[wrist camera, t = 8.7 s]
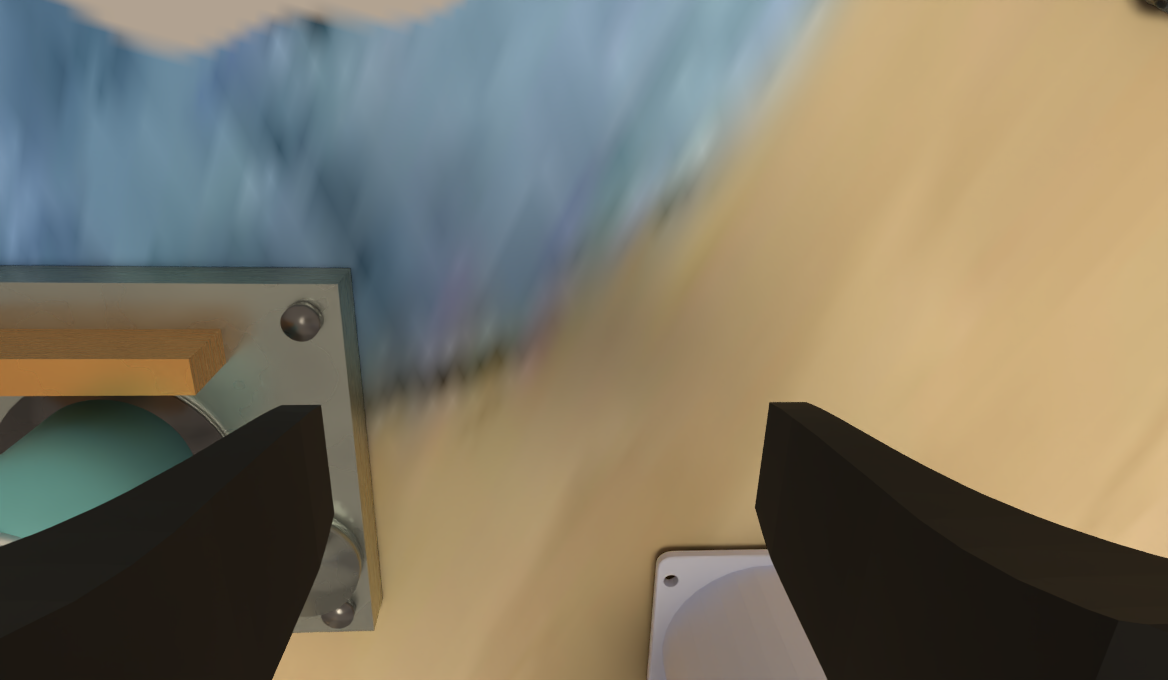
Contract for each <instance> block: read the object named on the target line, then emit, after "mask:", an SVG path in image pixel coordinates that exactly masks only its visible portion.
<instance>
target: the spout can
mask: <svg viewBox="0 0 1168 680" xmlns="http://www.w3.org/2000/svg"><path fill="white" fill-rule="evenodd" d="M191 456H193V454H192V452H191V450H190V448H189V447H188V445H187V443H186V442H185V441H184V439H183V438H182V437H181V436H180V434H179V433H178V432H177V431H176V430H175V429H174V428H173V427H171V426H170V425H169V424H168V423H166V422H165V421H164V420H163V419H161V418H159V417H158V416H156V415H155V414H153V413H151V412H149V411H147V410H145V409H143V408H140V407H137V406H135V405H132V404H128V403H124V402H120V401H113V400H99V399H98V400H86V401H81V402H76V403H73V404H70V405H67V406H65V407H63V408H61V409H59V410H57V411H56V412H55V413H53V414H52V415H50V416H49V417H48V418H47V419H45V420H44V421H43V422H42V423H40V424H39V425H38V426H36V427H35V428H34V429H33V430H31V431H30V432H29V433H28V434H26V435H25V436H24V437H23V438H21V439H20V440H19V441H17V442H16V443H15V444H14V445H12V446H11V447H10V448H9V449H7V450H6V451H5V452H3V453H2V454H1V455H0V546H3V545H6V544H8V543H11V542H14V541H16V540H19V539H22V538H24V537H27V536H30V535H32V534H35V533H38V532H40V531H42V530H45V529H47V528H50V527H52V526H54V525H57V524H59V523H61V522H63V521H66V520H68V519H70V518H72V517H75V516H77V515H79V514H81V513H84V512H86V511H88V510H91V509H93V508H95V507H97V506H99V505H101V504H103V503H105V502H107V501H109V500H111V499H113V498H115V497H117V496H119V495H121V494H123V493H125V492H127V491H129V490H131V489H133V488H135V487H137V486H138V485H140V484H142V483H144V482H146V481H148V480H149V479H151V478H153V477H155V476H157V475H159V474H161V473H162V472H164V471H166V470H168V469H170V468H172V467H173V466H175V465H177V464H179V463H181V462H183V461H184V460H186V459H188V458H190V457H191Z"/></svg>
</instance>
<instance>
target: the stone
mask: <svg viewBox="0 0 1168 680" xmlns="http://www.w3.org/2000/svg"><path fill="white" fill-rule="evenodd" d="M1145 1H1146V2H1147V3H1148V4H1152V5H1155V6H1156V7H1157V8H1158V9H1160V10H1161V11H1164V12H1165V13H1167V14H1168V0H1145Z"/></svg>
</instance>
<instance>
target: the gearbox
mask: <svg viewBox="0 0 1168 680" xmlns="http://www.w3.org/2000/svg"><path fill="white" fill-rule="evenodd" d="M98 399H99V400H113V401H120V402H124V403H128V404H132V405H135V406H137V407H140V408H143V409H145V410H147V411H149V412H151V413H153V414H155V415H156V416H158V417H159V418H161V419H163V420H164V421H165V422H166V423H168V424H169V425H170V426H171V427H173V428H174V429H175V430H176V431H177V432H178V433H179V434H180V436H181V437H182V438H183V439H184V441H185V442H186V443H187V445H188V447H189V448H190V450H191V452H192V454H193V455H195V454H196V453H198V452H200V451H201V450H203V449H205V448H206V447H208V446H210V445H211V444H213V443H215V442H216V441H218V440H220V439H221V438H223V437H225V436H227V435H228V434H230V433H232V432H233V431H235V430H237V429H238V428H240V427H241V426H243V425H245V424H247V423H248V422H250V421H252V420H253V419H255V418H257V417H259V416H260V415H262V414H264V413H266V412H268V411H270V410H272V409H274V408H276V407H278V406H280V405H321V408H322V416H323V424H324V432H325V440H326V448H327V457H328V465H329V473H330V481H331V489H332V498H333V506H334V518H333V522H332V526H331V529H330V533H329V537H328V541H327V545H326V549H325V552H324V556H323V559H322V563H321V566H320V569H319V572H318V574H317V576H316V579H315V581H314V584H313V586H312V588H311V591H310V593H309V595H308V598H307V600H306V602H305V605H304V607H303V610H302V612H301V614H300V616H299V619H298V621H297V623H296V626H295V628H294V630H293V633H301V632H339V631H374V629H375V625H376V622H377V618H378V614H379V610H380V607H381V603H382V599H383V597H382V586H381V576H380V566H379V556H378V545H377V535H376V525H375V515H374V504H373V494H372V484H371V474H370V463H369V453H368V443H367V433H366V422H365V412H364V402H363V392H362V381H361V371H360V361H359V350H358V340H357V330H356V320H355V309H354V299H353V289H352V279H351V268H268V267H134V266H0V455H1V454H2V453H3V452H5V451H6V450H7V449H9V448H10V447H11V446H12V445H14V444H15V443H16V442H17V441H19V440H20V439H21V438H23V437H24V436H25V435H26V434H28V433H29V432H30V431H31V430H33V429H34V428H35V427H36V426H38V425H39V424H40V423H42V422H43V421H44V420H45V419H47V418H48V417H49V416H50V415H52V414H53V413H55V412H56V411H57V410H59V409H61V408H63V407H65V406H67V405H70V404H73V403H76V402H81V401H86V400H98Z"/></svg>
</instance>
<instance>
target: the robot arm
mask: <svg viewBox="0 0 1168 680" xmlns="http://www.w3.org/2000/svg"><path fill="white" fill-rule="evenodd" d="M755 509H756V512H757V516H758V519H759V523H760V526H761V530H762V533H763V537H764V540H765V543H766V546H767V549H749V550H697V551H669V552H665V553H663V554H661V555H660V556H659V557H658V559H657V562H656V570H655V582H654V595H653V608H652V620H651V633H650V645H649V658H648V670H647V680H1168V558H1164V557H1160V556H1157V555H1153V554H1149V553H1146V552H1143V551H1139V550H1136V549H1132V548H1129V547H1126V546H1122V545H1119V544H1116V543H1112V542H1109V541H1106V540H1103V539H1100V538H1097V537H1094V536H1091V535H1088V534H1085V533H1082V532H1079V531H1076V530H1073V529H1070V528H1067V527H1064V526H1061V525H1059V524H1056V523H1053V522H1050V521H1048V520H1045V519H1042V518H1040V517H1037V516H1034V515H1032V514H1029V513H1027V512H1024V511H1022V510H1020V509H1017V508H1015V507H1012V506H1010V505H1008V504H1005V503H1003V502H1000V501H998V500H995V499H993V498H991V497H988V496H986V495H984V494H981V493H979V492H977V491H975V490H973V489H970V488H968V487H966V486H964V485H962V484H960V483H958V482H956V481H954V480H952V479H950V478H948V477H946V476H944V475H942V474H940V473H938V472H936V471H934V470H932V469H930V468H928V467H926V466H924V465H922V464H920V463H918V462H916V461H915V460H913V459H911V458H909V457H907V456H905V455H903V454H902V453H900V452H898V451H896V450H894V449H893V448H891V447H889V446H887V445H885V444H884V443H882V442H880V441H878V440H877V439H875V438H873V437H871V436H870V435H868V434H866V433H864V432H863V431H861V430H859V429H857V428H855V427H854V426H852V425H850V424H848V423H847V422H845V421H843V420H841V419H840V418H838V417H836V416H834V415H832V414H830V413H828V412H827V411H825V410H823V409H821V408H818V407H816V406H814V405H812V404H809V403H807V402H770V403H769V410H768V418H767V425H766V432H765V439H764V447H763V454H762V461H761V468H760V476H759V483H758V490H757V497H756V504H755ZM333 518H334V506H333V498H332V489H331V481H330V473H329V465H328V457H327V448H326V440H325V432H324V424H323V416H322V408H321V405H280V406H278V407H276V408H274V409H272V410H270V411H268V412H266V413H264V414H262V415H260V416H259V417H257V418H255V419H253V420H252V421H250V422H248V423H247V424H245V425H243V426H241V427H240V428H238V429H237V430H235V431H233V432H232V433H230V434H228V435H227V436H225V437H223V438H221V439H220V440H218V441H216V442H215V443H213V444H211V445H210V446H208V447H206V448H205V449H203V450H201V451H200V452H198V453H196V454H195V455H193V456H191V457H190V458H188V459H186V460H184V461H183V462H181V463H179V464H177V465H175V466H173V467H172V468H170V469H168V470H166V471H164V472H162V473H161V474H159V475H157V476H155V477H153V478H151V479H149V480H148V481H146V482H144V483H142V484H140V485H138V486H137V487H135V488H133V489H131V490H129V491H127V492H125V493H123V494H121V495H119V496H117V497H115V498H113V499H111V500H109V501H107V502H105V503H103V504H101V505H99V506H97V507H95V508H93V509H91V510H88V511H86V512H84V513H81V514H79V515H77V516H75V517H72V518H70V519H68V520H66V521H63V522H61V523H59V524H57V525H54V526H52V527H50V528H47V529H45V530H42V531H40V532H38V533H35V534H32V535H30V536H27V537H24V538H22V539H19V540H16V541H14V542H11V543H8V544H6V545H3V546H0V680H272V678H273V676H274V674H275V671H276V669H277V667H278V665H279V662H280V660H281V658H282V655H283V653H284V651H285V649H286V646H287V644H288V642H289V639H290V637H291V635H292V633H293V630H294V628H295V626H296V623H297V621H298V619H299V616H300V614H301V612H302V610H303V607H304V605H305V602H306V600H307V598H308V595H309V593H310V591H311V588H312V586H313V584H314V581H315V579H316V576H317V574H318V572H319V569H320V566H321V563H322V559H323V556H324V552H325V549H326V545H327V541H328V537H329V533H330V529H331V526H332V522H333ZM669 575H675V577H674V578H672V579H665V577H667V576H669Z"/></svg>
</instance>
